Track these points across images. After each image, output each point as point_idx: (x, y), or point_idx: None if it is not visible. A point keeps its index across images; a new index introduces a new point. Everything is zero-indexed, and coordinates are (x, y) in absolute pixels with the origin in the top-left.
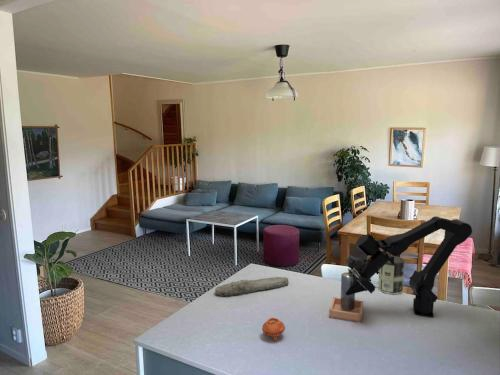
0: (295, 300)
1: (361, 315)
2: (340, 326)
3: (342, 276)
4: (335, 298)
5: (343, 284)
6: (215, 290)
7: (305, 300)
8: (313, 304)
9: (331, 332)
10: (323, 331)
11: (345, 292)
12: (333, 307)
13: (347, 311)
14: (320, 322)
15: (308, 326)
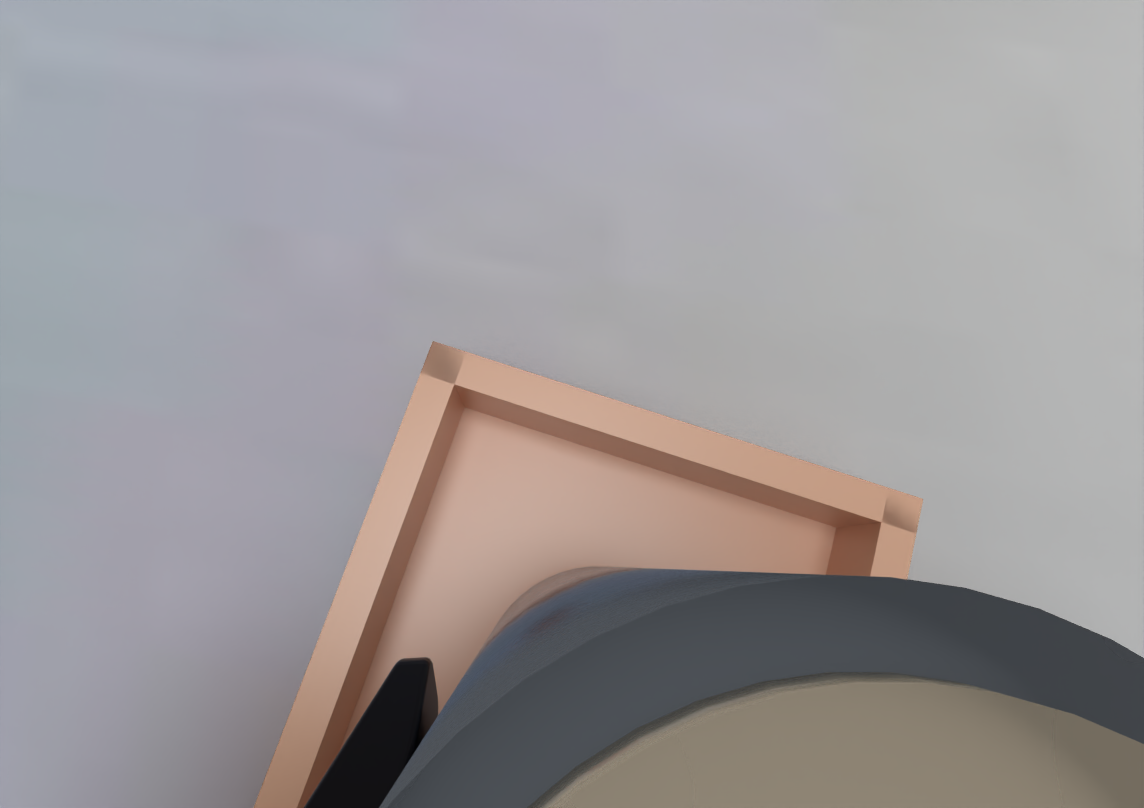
0: (913, 28)
1: None
2: (192, 485)
3: (641, 614)
4: (879, 526)
5: (514, 630)
6: None
7: (930, 145)
8: (823, 229)
9: (50, 335)
10: (89, 242)
11: (468, 668)
12: (654, 462)
13: None
14: (320, 242)
15: (231, 90)
